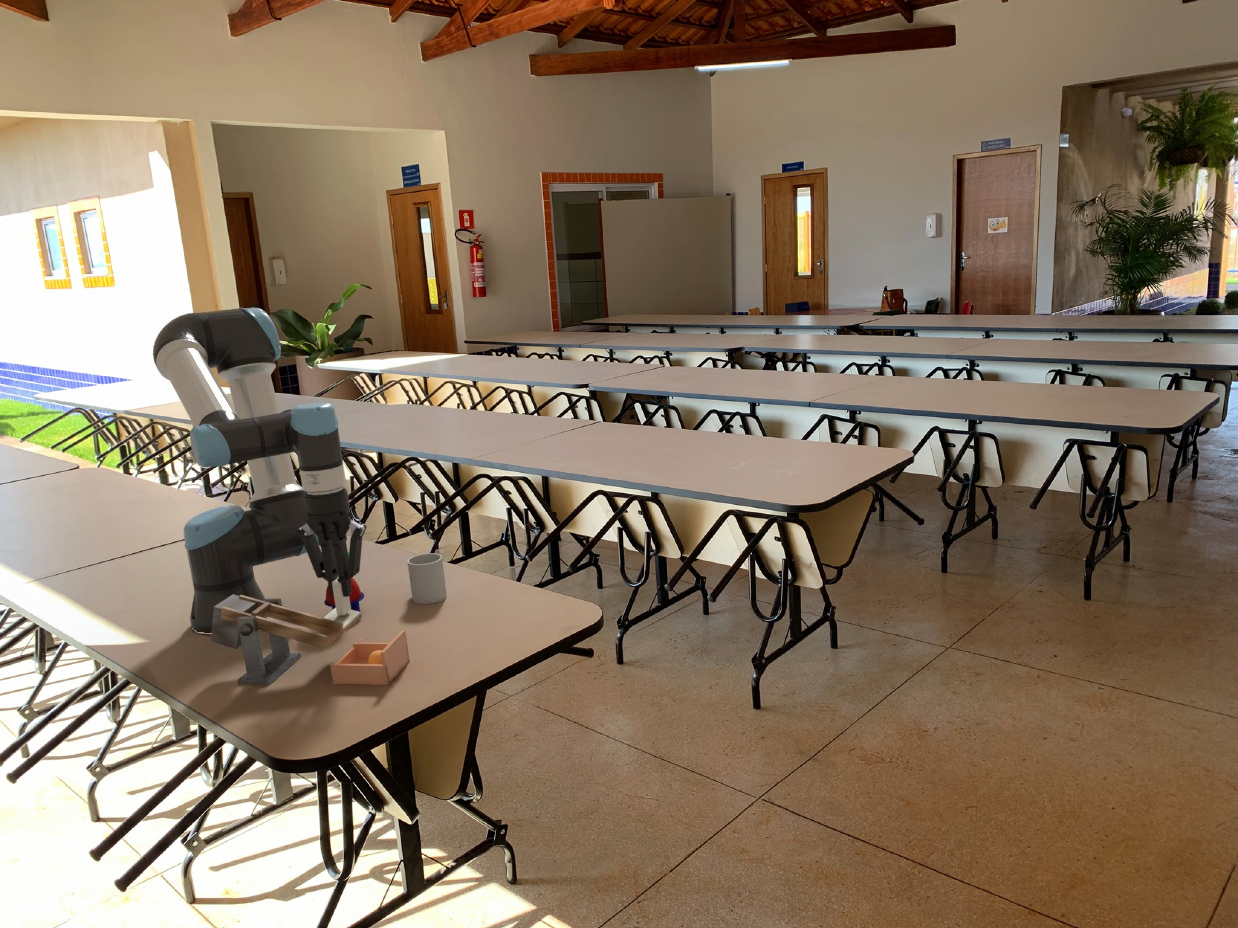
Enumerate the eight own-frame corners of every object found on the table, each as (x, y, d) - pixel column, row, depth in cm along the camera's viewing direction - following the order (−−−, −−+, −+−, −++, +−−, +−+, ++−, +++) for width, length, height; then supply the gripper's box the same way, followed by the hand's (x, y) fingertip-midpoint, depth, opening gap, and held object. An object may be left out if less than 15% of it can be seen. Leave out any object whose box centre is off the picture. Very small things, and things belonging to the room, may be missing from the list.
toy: (333, 628, 181) (322, 557, 178) (314, 617, 188) (303, 548, 184) (373, 613, 187) (363, 544, 184) (354, 604, 193) (344, 537, 190)
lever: (209, 642, 161) (212, 604, 159) (254, 611, 175) (258, 574, 173) (321, 675, 159) (326, 636, 156) (358, 640, 172) (363, 604, 170)
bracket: (237, 684, 159) (226, 620, 157) (271, 656, 170) (261, 596, 167) (268, 684, 158) (257, 620, 156) (300, 656, 169) (291, 596, 166)
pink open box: (333, 683, 157) (328, 651, 156) (357, 659, 166) (352, 629, 164) (388, 684, 155) (383, 652, 154) (409, 660, 164) (405, 629, 163)
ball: (376, 677, 159) (360, 664, 158) (384, 668, 162) (369, 656, 162) (387, 664, 158) (371, 651, 157) (395, 655, 161) (380, 643, 161)
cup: (422, 607, 189) (417, 567, 187) (400, 596, 196) (395, 557, 194) (453, 597, 193) (448, 557, 191) (430, 586, 201) (425, 548, 199)
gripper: (280, 496, 161) (301, 620, 166) (348, 494, 158) (367, 620, 163) (302, 485, 168) (321, 604, 173) (367, 483, 165) (385, 604, 171)
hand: (344, 612), depth 168 cm, fingers closed
